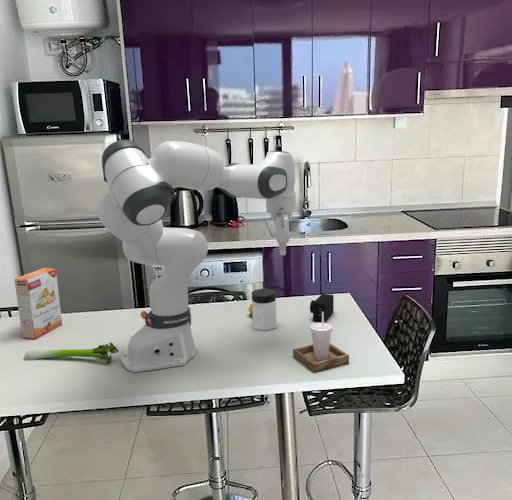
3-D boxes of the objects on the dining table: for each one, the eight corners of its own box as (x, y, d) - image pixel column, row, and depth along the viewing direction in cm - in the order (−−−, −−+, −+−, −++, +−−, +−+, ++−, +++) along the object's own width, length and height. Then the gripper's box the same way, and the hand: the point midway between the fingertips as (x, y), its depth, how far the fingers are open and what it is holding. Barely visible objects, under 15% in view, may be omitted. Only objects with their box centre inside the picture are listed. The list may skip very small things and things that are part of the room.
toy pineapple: (247, 319, 188) (246, 305, 186) (251, 309, 197) (250, 295, 196) (266, 319, 187) (266, 305, 186) (269, 309, 196) (269, 295, 195)
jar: (247, 328, 180) (245, 294, 177) (259, 319, 187) (257, 287, 184) (270, 332, 176) (269, 297, 173) (282, 323, 182) (281, 290, 180)
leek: (35, 359, 167) (124, 355, 161) (23, 371, 161) (115, 368, 155) (29, 342, 165) (119, 337, 159) (17, 354, 159) (110, 350, 153)
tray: (313, 372, 146) (313, 364, 146) (293, 357, 157) (292, 349, 156) (348, 363, 151) (348, 355, 150) (326, 348, 161) (326, 341, 161)
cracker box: (36, 340, 177) (27, 279, 172) (21, 338, 179) (12, 278, 174) (63, 324, 190) (56, 267, 185) (50, 323, 191) (42, 267, 186)
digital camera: (319, 311, 193) (318, 293, 191) (333, 313, 191) (333, 294, 189) (309, 321, 184) (309, 302, 182) (324, 323, 181) (324, 303, 180)
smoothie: (336, 360, 152) (336, 314, 148) (315, 364, 150) (314, 317, 147) (327, 351, 158) (326, 307, 154) (306, 355, 156) (306, 310, 153)
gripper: (293, 211, 149) (294, 259, 152) (289, 200, 168) (290, 243, 172) (271, 212, 149) (272, 260, 152) (269, 201, 169) (271, 243, 172)
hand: (282, 250), depth 162 cm, fingers open, 8 cm apart
